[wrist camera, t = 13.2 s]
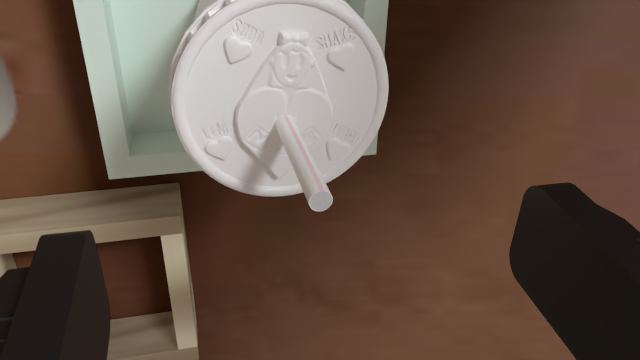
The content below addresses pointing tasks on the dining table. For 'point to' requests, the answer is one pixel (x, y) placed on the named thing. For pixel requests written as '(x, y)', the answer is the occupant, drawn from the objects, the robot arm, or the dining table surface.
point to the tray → (152, 78)
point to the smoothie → (278, 94)
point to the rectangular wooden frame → (115, 225)
